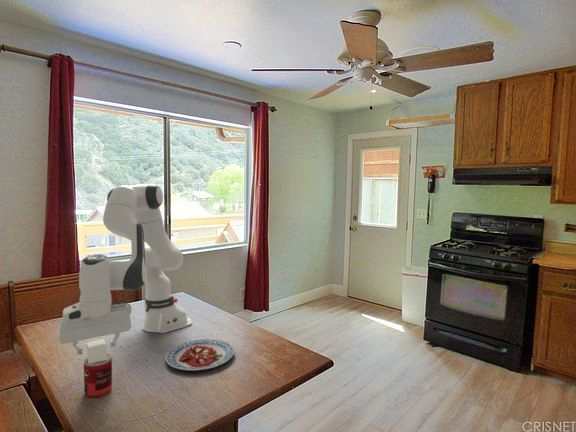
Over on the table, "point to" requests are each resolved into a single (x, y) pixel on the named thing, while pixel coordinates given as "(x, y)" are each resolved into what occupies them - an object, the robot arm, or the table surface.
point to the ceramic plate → (199, 354)
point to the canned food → (98, 377)
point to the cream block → (96, 351)
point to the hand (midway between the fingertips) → (96, 349)
